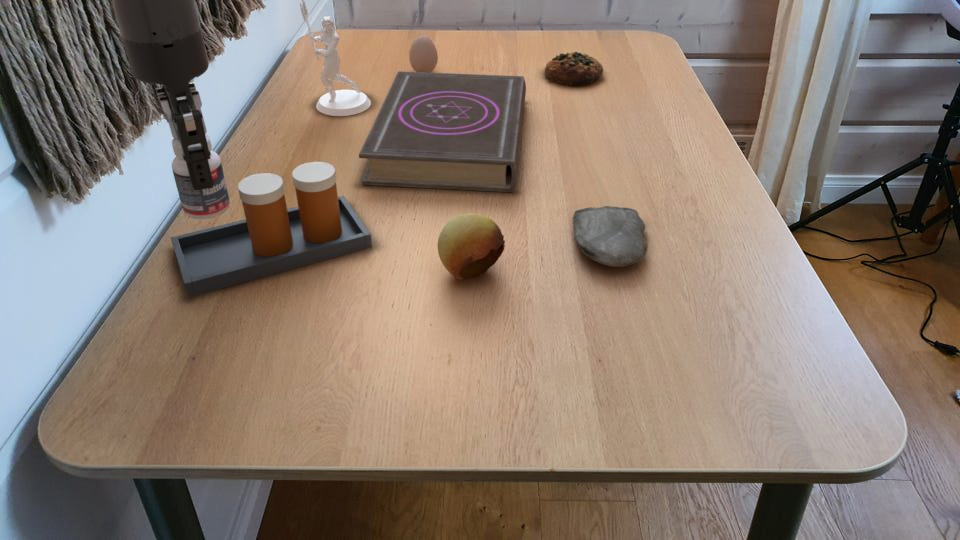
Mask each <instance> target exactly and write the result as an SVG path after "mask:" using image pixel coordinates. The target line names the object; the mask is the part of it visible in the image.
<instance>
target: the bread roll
mask: <svg viewBox="0 0 960 540" xmlns="http://www.w3.org/2000/svg"><path fill="white" fill-rule="evenodd" d="M603 73H604V67H603V64H602V63H601V62H600V61H598V59H596V58H595V57H593V56H590V55H589V54H587V53H582V52H578V51H574V52H572V51H571V52H570V53H569V52H566V53H560V54H559V55H555V57H553V58H551V60H549V61H548V62H547V63H546V64H545V68H544V75H545V76H546V77H547V78H548V79H550V80H552V81H554V82H557V83H560V84H562V85H567V86H569V87H581V86H584V85H590V84H591V83H595V82H596V81H598V80H599V79H600V77H601V76H602V74H603Z"/></svg>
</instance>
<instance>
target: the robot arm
mask: <svg viewBox="0 0 960 540" xmlns="http://www.w3.org/2000/svg"><path fill="white" fill-rule="evenodd" d="M111 2H112V7H113V11H114V15H115V19H116V23H117V25H118V29H119V33H120V36H121V39H122V43H123V46H124V49H125V53H126V57H127V60H128V63H129V67H130V70H131V74H132V76H133V77H134V78H135V79H136V80H137V81H139V82H141V83H145V84H149V85H159V86H160V87H155V93H156V96H157V100H158V102H159V103H158V104H159V105H160V107H161V111H162V112H163V114H164V117H165V120H166V123H168V125H169V129H170V132H171V136H172V138H173V139H176V140H178V141H179V142H180V146H181V149H182V153H183V154H182V158H183V159H184V161H185V162H186V164H187V168H188V172H189V176H190V179H191V183H192V186H193V188H194V189H195V190H202V189H206V188H211V187H212V186H213V184H214V183H213V179H212V175H211V171H210V167H209V162H208V159H210V155H211V153H210V151H209V149H208V145H207V140H206V135H205V134H207V132H208V131H207V126H206V122H205V119H204V116H203V112H202V107H203V103H202V99H201V94H200V92H199V90H197V88H196V85H195V82H194V81H192V80H193V79H195V78H199V77H201V76H202V75H204V74H205V73H206V72H207V70H208V69H209V66H210V61H209V57H208V53H207V48H206V45H205V40H204V35H203V30H202V26H201V21H200V17H199V13H198V9H197V4H196V0H112V1H111ZM199 143H200V146H201V147H197V148H192V149H188V146H190V145H194V144H199Z"/></svg>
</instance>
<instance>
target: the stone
mask: <svg viewBox="0 0 960 540" xmlns="http://www.w3.org/2000/svg"><path fill="white" fill-rule="evenodd" d="M572 225H573V226H572V228H573V236H574V241H575V243H576V245H577V247H578V249H579V250H580V251H581V252H582V254H584V255H585V256H586V257H587V258H589V259H591V260H592V261H594V262H596V263H598V264H601V265H603V266H608V267H615V268H623V267H630V266H632V265H635V264H636V263H638V262H640V261H642V260H643V259H644V257H645V256H646V252H647V250H648V245H647V243H646V242H645V240H644V239H645V230H646V224H645V222H644V221H643V219H642V218H641V217H640V216H639V213H638V211H637V210H636V209H634V208H629V207H620V206H611V205H605V206H600V207H585V208H580V209H577V210H575V211H574V213H573V217H572Z"/></svg>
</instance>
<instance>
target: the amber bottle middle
mask: <svg viewBox="0 0 960 540" xmlns="http://www.w3.org/2000/svg"><path fill="white" fill-rule="evenodd" d="M237 189H238V194H239V198H240V200H241V203H242V207H243V211H244V217H245V219H246V221H247V226H248V230H249V235H250V239H251V244H252V248H253V251H254V252H255V253H256V254H257V255H260V256H264V257H273V256H277V255H281V254H284V253H286V252H287V251H289V250H290V249H291V247H292V245H293V239H292V234H291V228H290V223H289V217H288V212H287V209H288V208H287V202H286V197H285V186H284V180H283V178H282V177H281V176H280V175H277V174H275V173H271V172H261V173H260V172H259V173H254V174H251V175H248V176H246V177H244V178H243V179H241V180H240V181H239V183H238V184H237Z"/></svg>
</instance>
